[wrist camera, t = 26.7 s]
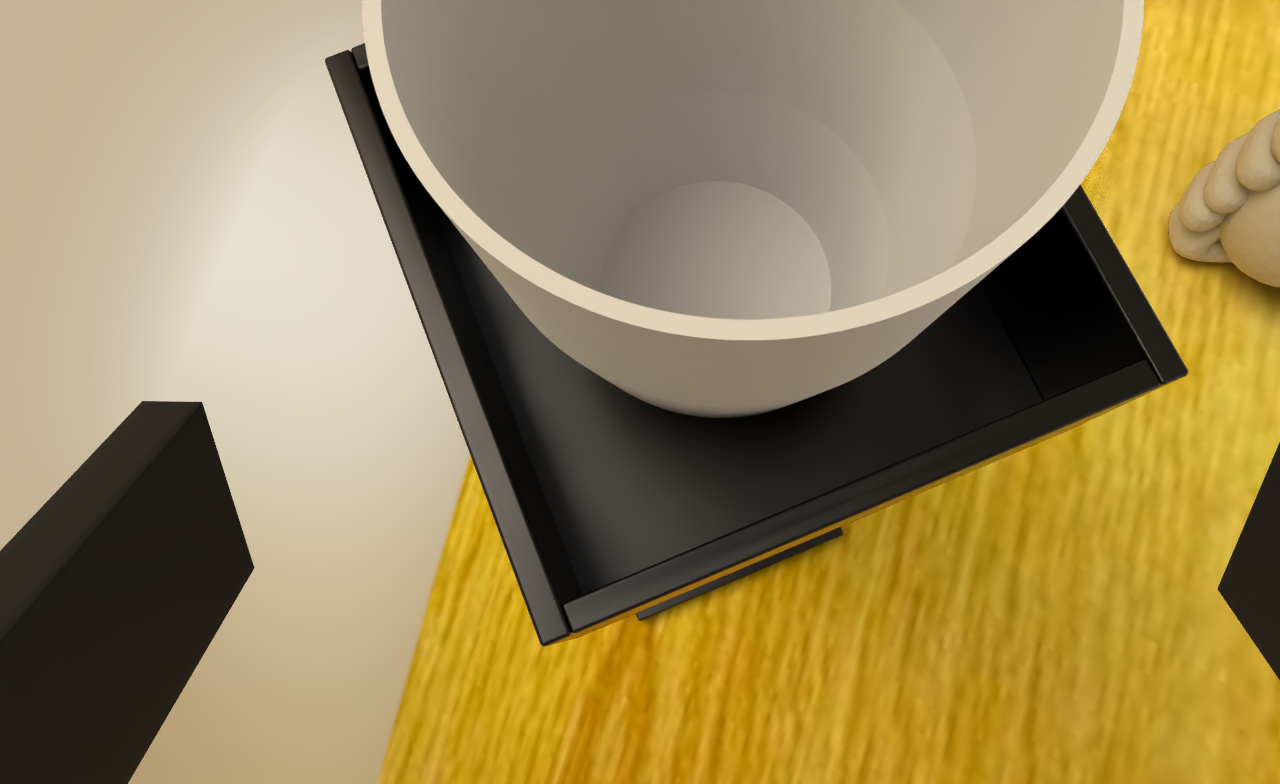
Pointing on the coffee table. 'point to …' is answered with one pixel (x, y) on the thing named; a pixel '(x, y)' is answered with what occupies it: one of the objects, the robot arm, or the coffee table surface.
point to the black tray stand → (750, 445)
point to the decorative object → (1235, 206)
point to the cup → (747, 167)
